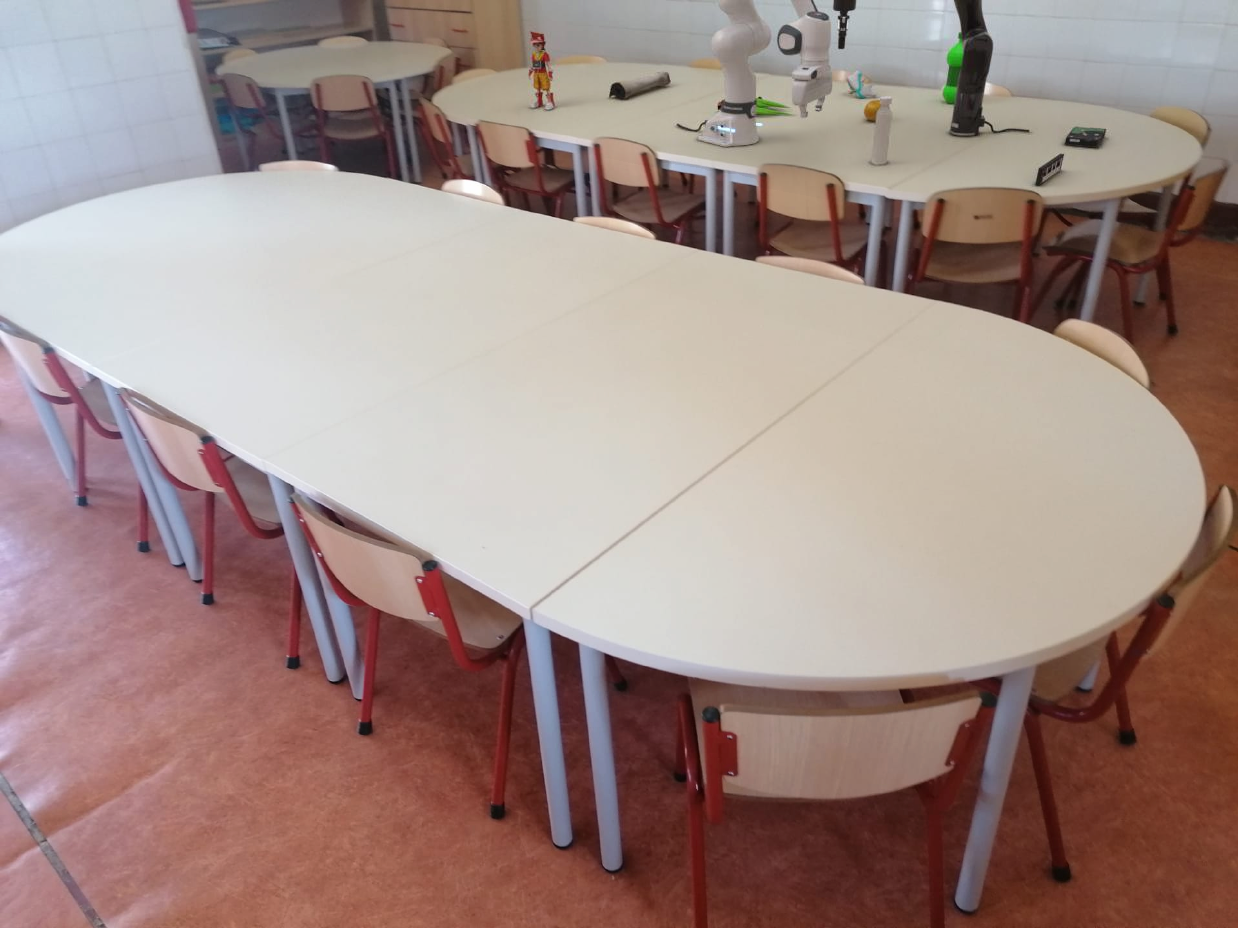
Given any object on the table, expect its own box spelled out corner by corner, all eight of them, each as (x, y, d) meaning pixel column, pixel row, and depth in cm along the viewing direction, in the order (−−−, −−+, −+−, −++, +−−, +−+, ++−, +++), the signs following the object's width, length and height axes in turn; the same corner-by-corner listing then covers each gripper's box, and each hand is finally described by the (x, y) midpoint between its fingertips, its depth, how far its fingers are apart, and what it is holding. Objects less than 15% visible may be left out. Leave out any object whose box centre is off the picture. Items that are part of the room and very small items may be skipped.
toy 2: (708, 113, 354) (778, 126, 342) (709, 100, 352) (780, 111, 339) (738, 103, 375) (805, 114, 362) (739, 90, 372) (807, 101, 359)
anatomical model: (842, 70, 374) (865, 63, 373) (844, 95, 380) (867, 89, 379) (852, 77, 361) (877, 71, 360) (855, 104, 367) (879, 97, 366)
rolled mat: (651, 76, 408) (662, 61, 399) (662, 93, 408) (674, 79, 400) (605, 92, 391) (616, 77, 383) (617, 110, 391) (628, 95, 383)
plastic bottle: (973, 101, 354) (984, 32, 339) (955, 106, 349) (966, 36, 335) (952, 97, 361) (962, 29, 346) (934, 102, 356) (944, 33, 342)
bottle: (888, 164, 294) (895, 100, 283) (873, 165, 294) (880, 101, 283) (883, 160, 298) (890, 96, 287) (869, 161, 298) (876, 97, 287)
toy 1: (525, 109, 381) (517, 32, 364) (534, 104, 388) (527, 28, 371) (550, 110, 377) (543, 32, 360) (559, 105, 384) (553, 28, 367)
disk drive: (1097, 149, 296) (1104, 136, 306) (1099, 140, 294) (1106, 128, 304) (1064, 145, 301) (1072, 133, 311) (1065, 137, 299) (1074, 125, 309)
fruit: (858, 112, 335) (872, 93, 332) (861, 115, 343) (874, 96, 340) (877, 125, 334) (891, 105, 331) (879, 128, 342) (892, 108, 339)
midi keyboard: (1039, 185, 269) (1043, 168, 266) (1035, 184, 270) (1038, 168, 267) (1060, 170, 279) (1064, 154, 277) (1056, 169, 280) (1060, 153, 277)
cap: (893, 104, 284) (893, 98, 283) (881, 105, 284) (882, 99, 283) (889, 101, 287) (889, 95, 286) (877, 102, 287) (878, 96, 286)
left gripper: (821, 62, 293) (818, 106, 301) (789, 74, 281) (786, 120, 288) (839, 63, 290) (835, 108, 298) (807, 76, 277) (804, 122, 285)
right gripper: (857, -3, 295) (852, 50, 304) (856, -9, 306) (852, 42, 316) (833, -2, 296) (829, 51, 306) (834, -9, 308) (830, 43, 317)
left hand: (811, 114), depth 293 cm, fingers open, 8 cm apart
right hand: (841, 46), depth 311 cm, fingers open, 8 cm apart
